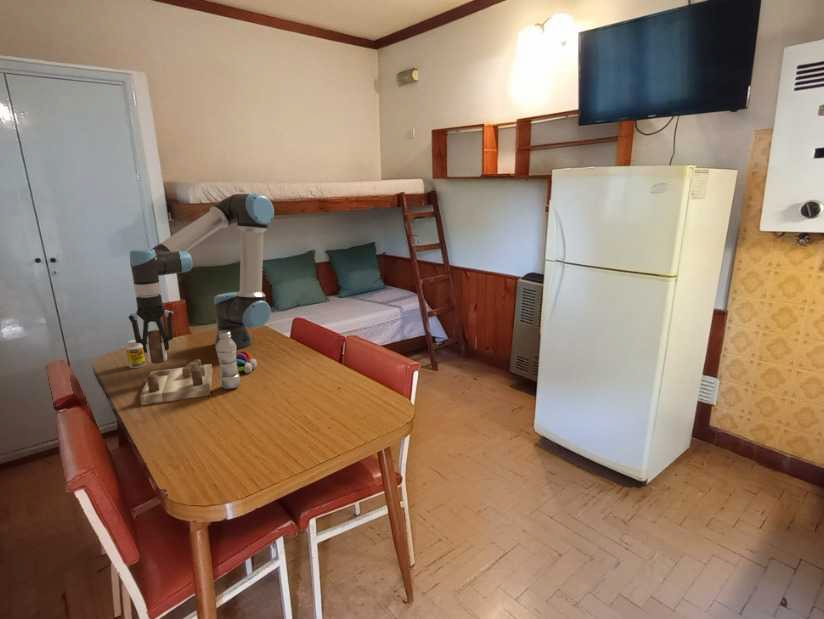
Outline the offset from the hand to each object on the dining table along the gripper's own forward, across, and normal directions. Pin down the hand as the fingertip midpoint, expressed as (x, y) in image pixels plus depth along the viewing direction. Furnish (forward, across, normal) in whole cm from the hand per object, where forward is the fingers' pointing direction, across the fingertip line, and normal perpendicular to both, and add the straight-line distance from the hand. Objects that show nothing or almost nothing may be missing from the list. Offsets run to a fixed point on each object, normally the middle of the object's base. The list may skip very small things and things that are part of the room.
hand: (158, 359), depth 161 cm
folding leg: (+5, -11, +3) cm, 12 cm away
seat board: (+8, -7, +7) cm, 13 cm away
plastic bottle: (+8, -23, +14) cm, 29 cm away
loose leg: (+1, 0, 0) cm, 1 cm away
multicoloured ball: (+8, -28, 0) cm, 29 cm away
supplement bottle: (+8, +11, -21) cm, 25 cm away
